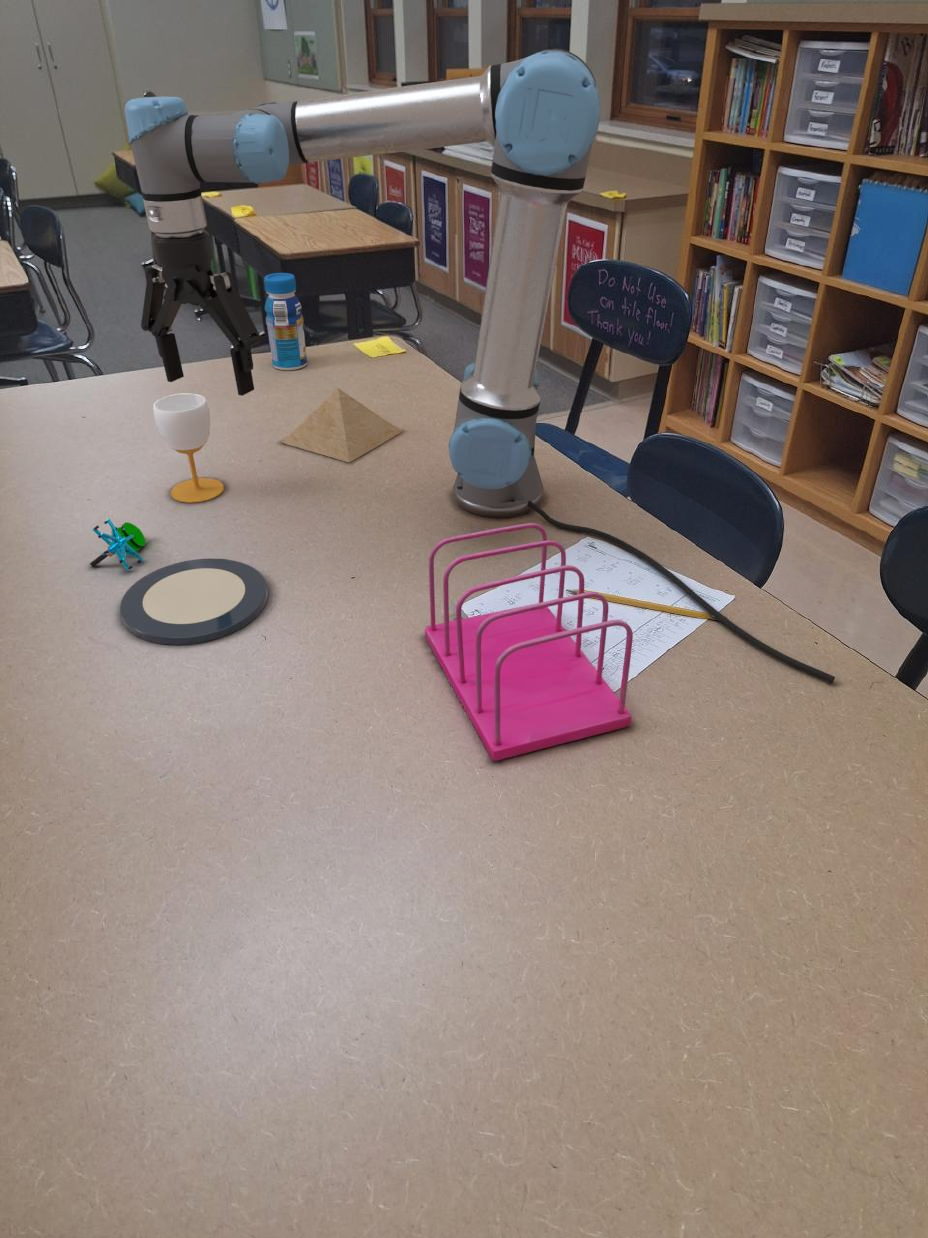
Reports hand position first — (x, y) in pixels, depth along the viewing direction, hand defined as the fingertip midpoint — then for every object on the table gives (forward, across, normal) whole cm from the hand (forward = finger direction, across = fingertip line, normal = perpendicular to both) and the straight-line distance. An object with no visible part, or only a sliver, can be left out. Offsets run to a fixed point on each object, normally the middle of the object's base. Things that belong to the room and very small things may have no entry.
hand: (210, 385), depth 128 cm
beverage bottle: (+23, -38, +65) cm, 78 cm away
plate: (+23, +10, -21) cm, 33 cm away
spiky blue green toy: (+23, -8, -18) cm, 30 cm away
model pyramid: (+23, -4, +36) cm, 43 cm away
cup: (+23, -13, +5) cm, 27 cm away
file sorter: (+24, +58, -16) cm, 65 cm away
